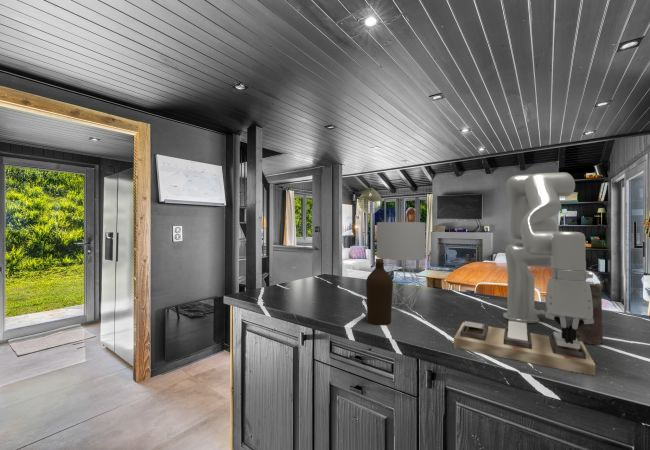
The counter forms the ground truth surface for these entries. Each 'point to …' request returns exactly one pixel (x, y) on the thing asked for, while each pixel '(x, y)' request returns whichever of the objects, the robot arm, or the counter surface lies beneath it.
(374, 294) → the olive oil
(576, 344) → the rocker right
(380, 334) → the counter surface
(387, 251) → the table lamp
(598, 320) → the candle
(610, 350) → the counter surface
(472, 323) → the rocker left
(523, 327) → the rocker middle
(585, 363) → the switch panel
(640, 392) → the counter surface
